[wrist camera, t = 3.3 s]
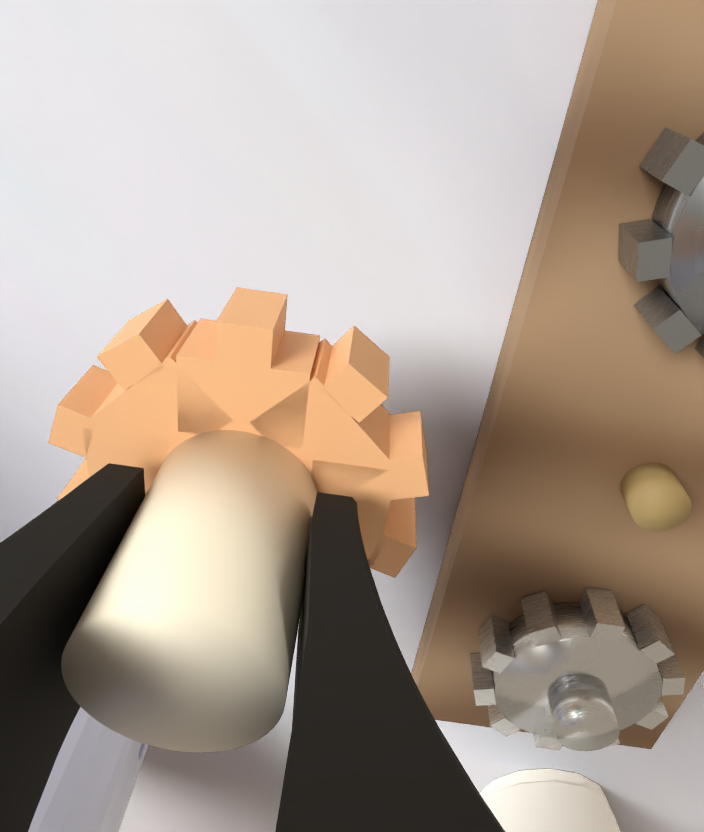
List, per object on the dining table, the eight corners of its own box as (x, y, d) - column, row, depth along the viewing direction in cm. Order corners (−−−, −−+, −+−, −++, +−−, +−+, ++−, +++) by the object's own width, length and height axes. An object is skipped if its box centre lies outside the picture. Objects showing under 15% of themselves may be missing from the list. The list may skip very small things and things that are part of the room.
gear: (627, 723, 25) (652, 802, 23) (453, 700, 25) (459, 776, 23) (700, 603, 22) (740, 681, 19) (497, 575, 22) (509, 650, 19)
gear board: (639, 715, 27) (661, 778, 25) (408, 683, 27) (409, 744, 25) (1083, -6, 14) (1220, -9, 11) (618, -75, 14) (663, -94, 11)
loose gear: (393, 591, 15) (390, 847, 10) (100, 551, 15) (-34, 791, 10) (455, 318, 11) (493, 528, 7) (67, 263, 11) (-168, 436, 7)
